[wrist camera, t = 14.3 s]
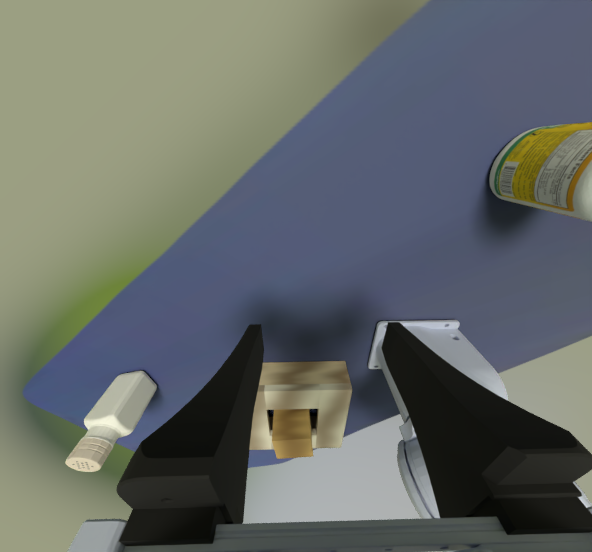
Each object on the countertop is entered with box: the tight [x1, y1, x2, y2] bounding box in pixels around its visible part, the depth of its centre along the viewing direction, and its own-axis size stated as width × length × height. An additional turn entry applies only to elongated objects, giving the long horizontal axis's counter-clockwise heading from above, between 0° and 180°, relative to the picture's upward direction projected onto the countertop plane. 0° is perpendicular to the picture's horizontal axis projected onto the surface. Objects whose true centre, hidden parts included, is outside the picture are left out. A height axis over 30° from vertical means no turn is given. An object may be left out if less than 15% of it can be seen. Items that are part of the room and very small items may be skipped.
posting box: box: [249, 361, 352, 450], centre depth 31 cm, size 14×14×4 cm
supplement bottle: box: [489, 122, 592, 222], centre depth 14 cm, size 5×5×10 cm
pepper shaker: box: [66, 371, 157, 472], centre depth 26 cm, size 4×4×10 cm
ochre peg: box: [272, 409, 313, 459], centre depth 30 cm, size 4×4×7 cm
